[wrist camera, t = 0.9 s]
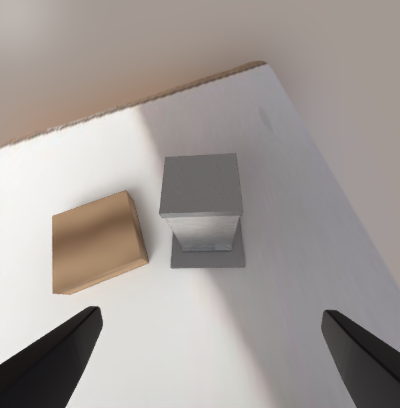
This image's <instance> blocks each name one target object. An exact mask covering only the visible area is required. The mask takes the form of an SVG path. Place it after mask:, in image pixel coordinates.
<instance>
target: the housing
mask: <svg viewBox="0 0 400 408" xmlns="http://www.w3.org/2000/svg"><path fill="white" fill-rule="evenodd" d="M242 213H243V206H242V198H241V190H240V182H239V173H238V165H237V157H236V153H235V154H216V155H198V156H179V157H165V164H164V174H163V183H162V192H161V202H160V211H159V214H160V216H161V218H166V220H167V222H168V223H169V225H170V227H171V229H172V230H173V232H174V234H175V236H176V237H177V239H178V241H179V242H180V244H181V246H182V252H183V253H190V252H231V251H232V247H231V246H232V242H233V239H234V235H235V231H236V227H237V224H238V220H239V216H241V215H242Z"/></svg>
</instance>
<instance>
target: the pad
mask: <svg viewBox="0 0 400 408" xmlns="http://www.w3.org/2000/svg"><path fill="white" fill-rule="evenodd" d="M231 247H232V251H231V252H190V253H183V252H182V246H181V244H180V242H179V241H178V239H177V237H176V236H175V234H174V232H173V243H172V258H171V268H221V267H245V265H244V256H243V246H242V237H241V228H240V219H239V220H238V224H237V227H236V231H235V235H234V239H233V242H232V246H231Z"/></svg>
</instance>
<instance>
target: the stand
mask: <svg viewBox="0 0 400 408" xmlns="http://www.w3.org/2000/svg"><path fill="white" fill-rule="evenodd" d="M52 251H53V294H66V295H71V294H73V293H76V292H78V291H80V290H83V289H85V288H88V287H90V286H93V285H95V284H98V283H100V282H103V281H105V280H108V279H110V278H113V277H115V276H118V275H120V274H123V273H125V272H128V271H130V270H133V269H135V268H138V267H140V266H143V265H145V264H148V263H149V261H148V257H147V253H146V249H145V245H144V241H143V237H142V233H141V229H140V225H139V221H138V217H137V213H136V209H135V205H134V201H133V199H132V198H131V196H130V195H129V194H128V193H127V191H126V190H125V191H122V192H119V193H116V194H114V195H111V196H108V197H105V198H102V199H99V200H97V201H94V202H91V203H88V204H85V205H82V206H80V207H77V208H74V209H71V210H68V211H65V212H63V213H60V214H57V215H54V216H52Z"/></svg>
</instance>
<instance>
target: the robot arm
mask: <svg viewBox="0 0 400 408" xmlns="http://www.w3.org/2000/svg"><path fill="white" fill-rule="evenodd" d="M102 327H103V319H102V315H101V310H100V308H99V307H98V306H89V307H87V308H86V309H84V310H82V311H81V312H79V313H78V314H76V315H75V316H73V317H72V318H70V319H69V320H67V321H66V322H64V323H63V324H61V325H60V326H58V327H57V328H55V329H54V330H52V331H50V332H49V333H47V334H46V335H44V336H43V337H41V338H40V339H38V340H37V341H35V342H34V343H32V344H31V345H29V346H28V347H26V348H25V349H23V350H22V351H20V352H18V353H17V354H15V355H14V356H12V357H11V358H9V359H8V360H6V361H5V362H3V363H2V364H0V408H65V407H66V405H67V403H68V401H69V399H70V397H71V396H72V394H73V392H74V390H75V388H76V386H77V384H78V382H79V380H80V378H81V376H82V374H83V372H84V370H85V368H86V365H87V363H88V361H89V358H90V356H91V354H92V351H93V349H94V346H95V344H96V342H97V339H98V337H99V335H100V332H101V330H102ZM321 330H322V333H323V336H324V338H325V341H326V343H327V345H328V348H329V350H330V352H331V355H332V357H333V359H334V362H335V364H336V366H337V369H338V371H339V373H340V375H341V378H342V380H343V382H344V384H345V386H346V388H347V390H348V392H349V394H350V396H351V398H352V400H353V402H354V403H355V405H356V407H357V408H400V352H398V351H397V350H395V349H394V348H392V347H391V346H389V345H388V344H386V343H385V342H383V341H382V340H380V339H379V338H377V337H376V336H374V335H373V334H371V333H370V332H368V331H367V330H366V329H364V328H363V327H361V326H360V325H358V324H357V323H355V322H354V321H352V320H351V319H349V318H348V317H346V316H345V315H343V314H342V313H340V312H339V311H337V310H325V311H324V312H323V318H322V325H321Z"/></svg>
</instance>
